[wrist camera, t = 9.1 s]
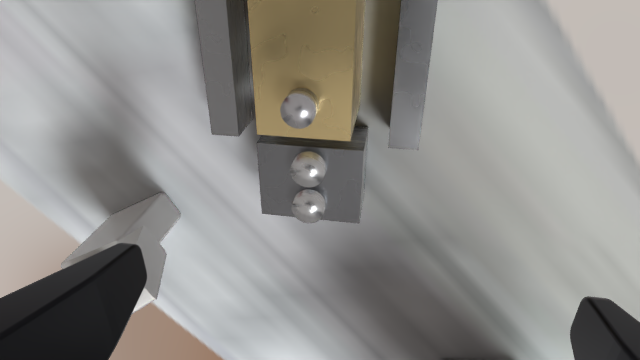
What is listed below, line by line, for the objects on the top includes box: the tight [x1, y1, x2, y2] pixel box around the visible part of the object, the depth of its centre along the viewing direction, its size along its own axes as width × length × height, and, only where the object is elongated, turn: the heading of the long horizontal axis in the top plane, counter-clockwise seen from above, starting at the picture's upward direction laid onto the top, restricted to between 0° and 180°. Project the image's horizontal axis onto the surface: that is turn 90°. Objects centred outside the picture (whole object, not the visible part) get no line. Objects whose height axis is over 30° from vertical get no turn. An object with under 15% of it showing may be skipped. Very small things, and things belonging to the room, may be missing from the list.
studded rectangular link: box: [195, 0, 438, 223], centre depth 16 cm, size 16×9×3 cm, turn 179°
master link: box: [247, 0, 365, 141], centre depth 16 cm, size 7×4×5 cm, turn 179°
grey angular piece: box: [61, 192, 181, 314], centre depth 20 cm, size 7×2×8 cm, turn 118°
